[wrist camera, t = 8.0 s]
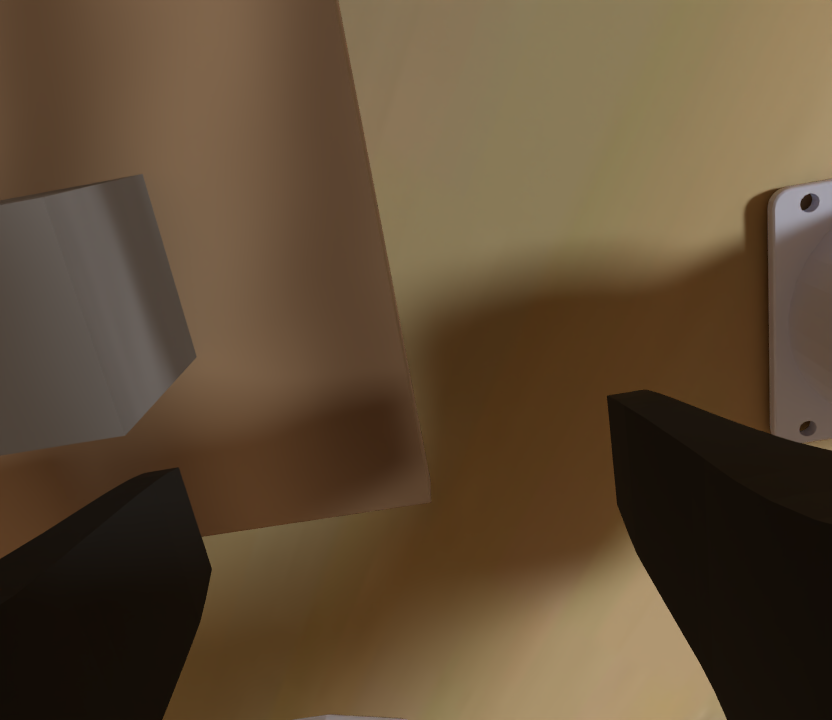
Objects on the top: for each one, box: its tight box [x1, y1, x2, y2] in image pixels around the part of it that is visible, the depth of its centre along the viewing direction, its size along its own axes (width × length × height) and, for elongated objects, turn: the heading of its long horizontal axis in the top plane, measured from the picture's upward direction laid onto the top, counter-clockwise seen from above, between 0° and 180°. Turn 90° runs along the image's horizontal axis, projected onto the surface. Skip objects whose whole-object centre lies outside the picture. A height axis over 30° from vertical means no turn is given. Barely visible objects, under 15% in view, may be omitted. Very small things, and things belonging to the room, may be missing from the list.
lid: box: [0, 0, 431, 559], centre depth 14 cm, size 13×13×5 cm
